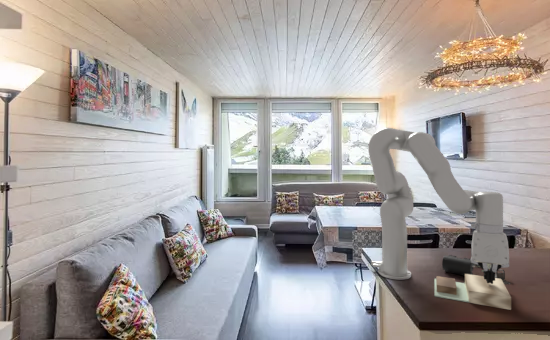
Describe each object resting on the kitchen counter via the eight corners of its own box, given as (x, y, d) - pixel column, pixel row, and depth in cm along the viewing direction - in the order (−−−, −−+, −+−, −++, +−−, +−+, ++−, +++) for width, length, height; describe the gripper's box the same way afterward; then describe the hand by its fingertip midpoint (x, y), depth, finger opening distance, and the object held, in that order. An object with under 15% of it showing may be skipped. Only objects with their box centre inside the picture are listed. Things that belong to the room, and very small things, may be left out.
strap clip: (489, 276, 120) (489, 265, 120) (498, 276, 119) (498, 265, 119) (502, 284, 111) (502, 273, 111) (511, 285, 111) (511, 273, 111)
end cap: (441, 273, 123) (442, 256, 123) (446, 268, 128) (446, 252, 128) (470, 279, 116) (470, 262, 116) (474, 274, 121) (474, 258, 121)
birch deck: (468, 302, 98) (469, 290, 97) (464, 284, 112) (464, 273, 112) (511, 310, 92) (511, 297, 92) (501, 289, 106) (501, 278, 106)
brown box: (456, 288, 102) (456, 295, 102) (454, 278, 110) (454, 285, 110) (436, 284, 105) (436, 291, 105) (436, 276, 113) (436, 282, 113)
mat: (434, 296, 102) (434, 295, 102) (434, 279, 116) (434, 278, 116) (470, 302, 97) (470, 301, 97) (466, 284, 111) (466, 283, 111)
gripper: (464, 228, 101) (464, 282, 102) (519, 232, 94) (520, 290, 94) (462, 224, 108) (462, 274, 108) (514, 228, 101) (514, 281, 101)
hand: (489, 281), depth 101 cm, fingers closed
